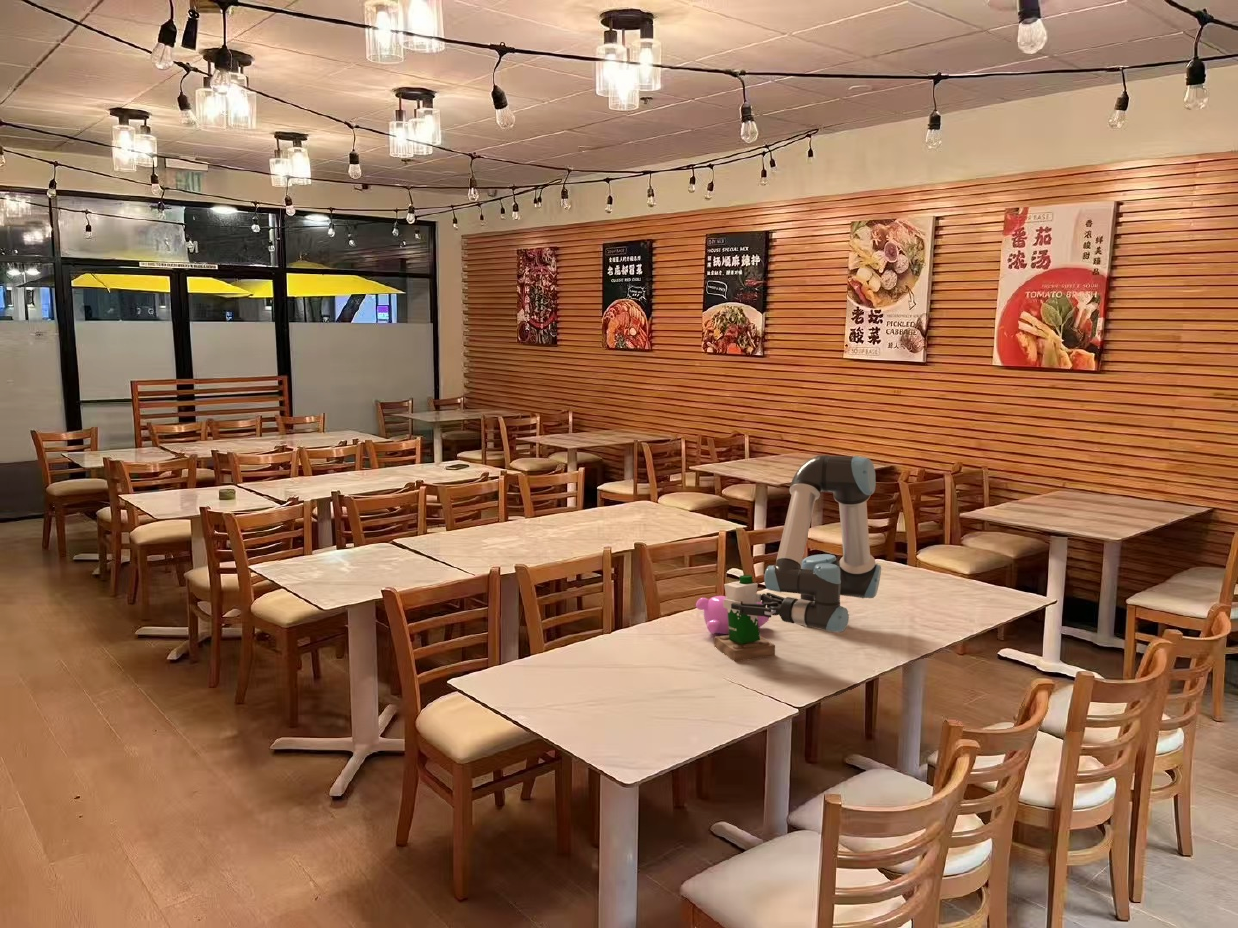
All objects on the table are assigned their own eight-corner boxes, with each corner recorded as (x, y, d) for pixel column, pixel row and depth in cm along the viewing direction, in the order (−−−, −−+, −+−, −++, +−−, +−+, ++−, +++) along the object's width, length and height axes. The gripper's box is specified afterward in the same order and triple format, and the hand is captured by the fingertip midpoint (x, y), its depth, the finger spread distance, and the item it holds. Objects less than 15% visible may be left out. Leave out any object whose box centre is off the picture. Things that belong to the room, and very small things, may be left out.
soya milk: (764, 640, 282) (759, 577, 281) (739, 645, 278) (735, 581, 277) (748, 634, 290) (744, 573, 289) (724, 639, 286) (720, 577, 285)
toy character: (745, 613, 319) (685, 611, 308) (760, 585, 312) (700, 583, 301) (764, 645, 307) (702, 645, 296) (781, 618, 301) (718, 616, 290)
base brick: (714, 648, 289) (714, 635, 288) (753, 643, 294) (753, 630, 293) (734, 663, 276) (734, 649, 275) (774, 657, 281) (775, 644, 280)
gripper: (778, 633, 263) (713, 619, 277) (813, 614, 281) (751, 601, 295) (778, 608, 262) (713, 595, 276) (814, 590, 280) (751, 579, 294)
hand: (733, 599), depth 285 cm, fingers open, 11 cm apart
